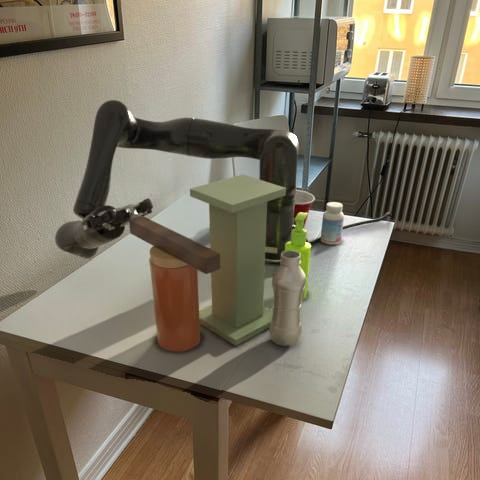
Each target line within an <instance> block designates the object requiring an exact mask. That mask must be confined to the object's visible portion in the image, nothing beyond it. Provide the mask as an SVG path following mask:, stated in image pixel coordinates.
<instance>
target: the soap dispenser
mask: <svg viewBox="0 0 480 480" xmlns="http://www.w3.org/2000/svg"><path fill="white" fill-rule="evenodd" d="M307 215H308V216H309V213H302V212H299V213H298V214H297V216H296V218H295V222H296V228H295V229H293V230H292V233H291V241H289V242H287V243H286V244H285V251H287V250H293V251H297V252H299V253H300V255H301V258H300V260H301V264H300V265H299V266H300V267H301V269H302V270H303V272H304V273H305V276H306V285H305V289H304V292H303V296H302V301H303V300H304V299H306V298H307V293H308V282H309V270H310V261H311V249H312V244H309V243H307V242H306V238H307V232H308V231H307V230H306V229H305V228H304V229H303V224H304V220H305V218H306V216H307Z"/></svg>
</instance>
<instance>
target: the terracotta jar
mask: <svg viewBox="0 0 480 480" xmlns="http://www.w3.org/2000/svg"><path fill="white" fill-rule="evenodd" d="M148 260H149V269H150V271H149V272H150V279H151V290H152V299H153V308H154V319H155V330H156V338H157V343H158V345H159V346H160V347H161V348H162V349H164V350H166V351H170V352H186V351H188V350H191V349H194V348H195V347H196V346H197V345H199V344H200V342H201V324H200V315H199V311H200V299H199V298H200V297H199V295H200V294H199V273H198V272H199V270H197V269H196V268H194V267H192V266H190V265H188V264H186V263H184V262H183V261H181V260H179V259H177V258H175V257H173V256H171V255H170V254H168V253H166V252H164V251H162V250H160V249H158V248H157V247H155V246H153V245H152V247H151V248H150V249H149V259H148Z"/></svg>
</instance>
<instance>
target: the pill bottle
mask: <svg viewBox="0 0 480 480" xmlns="http://www.w3.org/2000/svg"><path fill="white" fill-rule="evenodd" d="M343 206H344V205H343V203H341V202H336V201H331V202H327V203H326V205H325V208H326V210H325V211H323V213H322V220H321V221H322V222H321V229H320V230H321V231H320V237H321V240H320V242H322V243H323V244H326V245H339V244H340V243H341V242H342V237H343V230H342V229H343V226H344V222H345V221H344V219H345V214H344V212H343V210H344V209H343V208H344V207H343Z"/></svg>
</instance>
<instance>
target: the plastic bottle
mask: <svg viewBox="0 0 480 480" xmlns="http://www.w3.org/2000/svg"><path fill="white" fill-rule="evenodd" d="M300 258H301V255H300V253H299V252H297V251H293V250H287V251H283V252H282V253H281V259H280V263H279V264H280V266H278V267H277V269H276V270H275V271H274V272H273V273H274V274H273V276H272V290H273V310H272V311H273V315H272V320H271V323H270V328H268V332H269V338H270V340H271V341H272V342H273V343H274V344H276V345H279V346H282V347H289V346H293V345H295V344H297V342H298V341H299V340H300V338H301V335H302V323H301V309H302V301H303V300H302V296H303V292H304V289H305V285H306V276H305V273H304V272H303V270H302V269H301V267H300V266H299V265H300V264H301V260H300Z"/></svg>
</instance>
